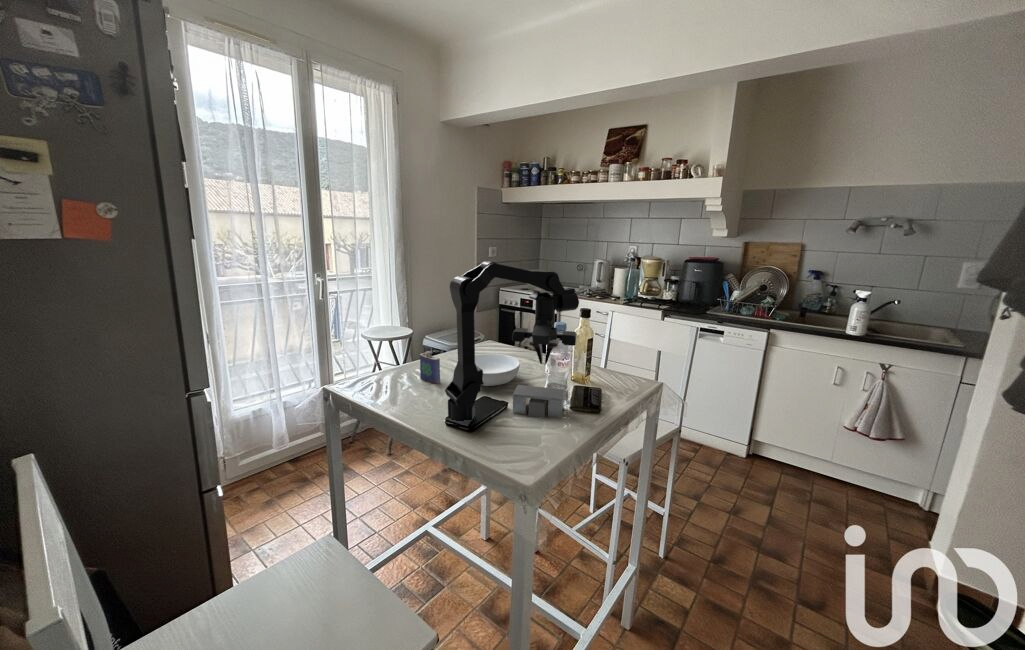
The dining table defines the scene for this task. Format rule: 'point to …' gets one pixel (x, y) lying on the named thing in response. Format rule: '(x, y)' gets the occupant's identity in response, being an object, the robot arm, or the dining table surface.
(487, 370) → the serving bowl
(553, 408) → the grey arch block
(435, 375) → the flask
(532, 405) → the plug
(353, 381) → the dining table surface
